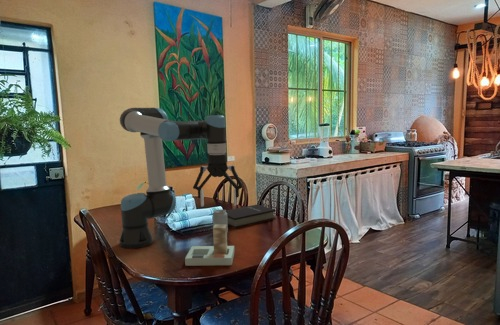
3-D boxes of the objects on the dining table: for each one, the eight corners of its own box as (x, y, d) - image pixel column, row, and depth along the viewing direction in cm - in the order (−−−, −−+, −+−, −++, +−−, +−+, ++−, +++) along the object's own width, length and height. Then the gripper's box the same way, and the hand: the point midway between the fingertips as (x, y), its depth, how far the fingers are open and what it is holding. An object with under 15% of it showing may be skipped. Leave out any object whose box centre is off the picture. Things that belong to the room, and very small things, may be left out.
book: (255, 212, 217) (255, 203, 217) (275, 219, 201) (275, 209, 201) (216, 221, 201) (216, 211, 201) (235, 229, 186) (234, 218, 185)
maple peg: (214, 261, 142) (212, 228, 141) (215, 256, 147) (214, 224, 146) (226, 261, 142) (225, 227, 141) (227, 256, 147) (226, 224, 146)
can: (225, 236, 173) (224, 212, 172) (211, 235, 175) (210, 212, 174) (229, 231, 181) (228, 208, 179) (215, 230, 182) (214, 208, 181)
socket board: (185, 265, 139) (184, 256, 138) (192, 252, 152) (191, 244, 152) (231, 265, 138) (231, 256, 137) (234, 252, 151) (234, 244, 151)
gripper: (184, 155, 137) (186, 208, 139) (247, 154, 136) (248, 207, 138) (188, 153, 144) (190, 203, 147) (248, 152, 143) (249, 202, 146)
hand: (218, 205), depth 142 cm, fingers open, 13 cm apart
